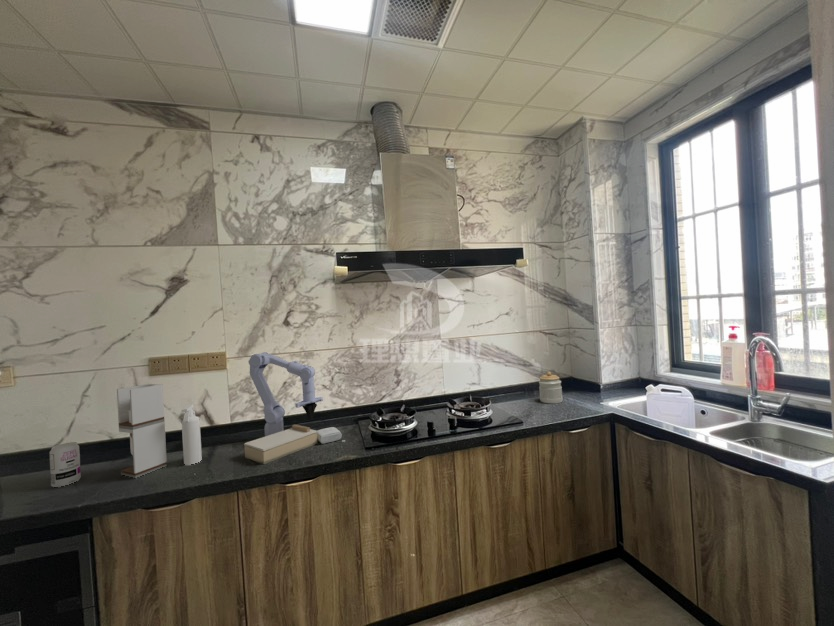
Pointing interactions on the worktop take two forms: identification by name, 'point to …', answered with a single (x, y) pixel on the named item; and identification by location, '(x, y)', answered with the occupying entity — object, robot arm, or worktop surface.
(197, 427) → the fire extinguisher
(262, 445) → the sliding box lid
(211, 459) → the worktop surface
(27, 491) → the worktop surface
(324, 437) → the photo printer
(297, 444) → the box
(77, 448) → the supplement can
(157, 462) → the white wood-trimmed shelf
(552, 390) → the jar
